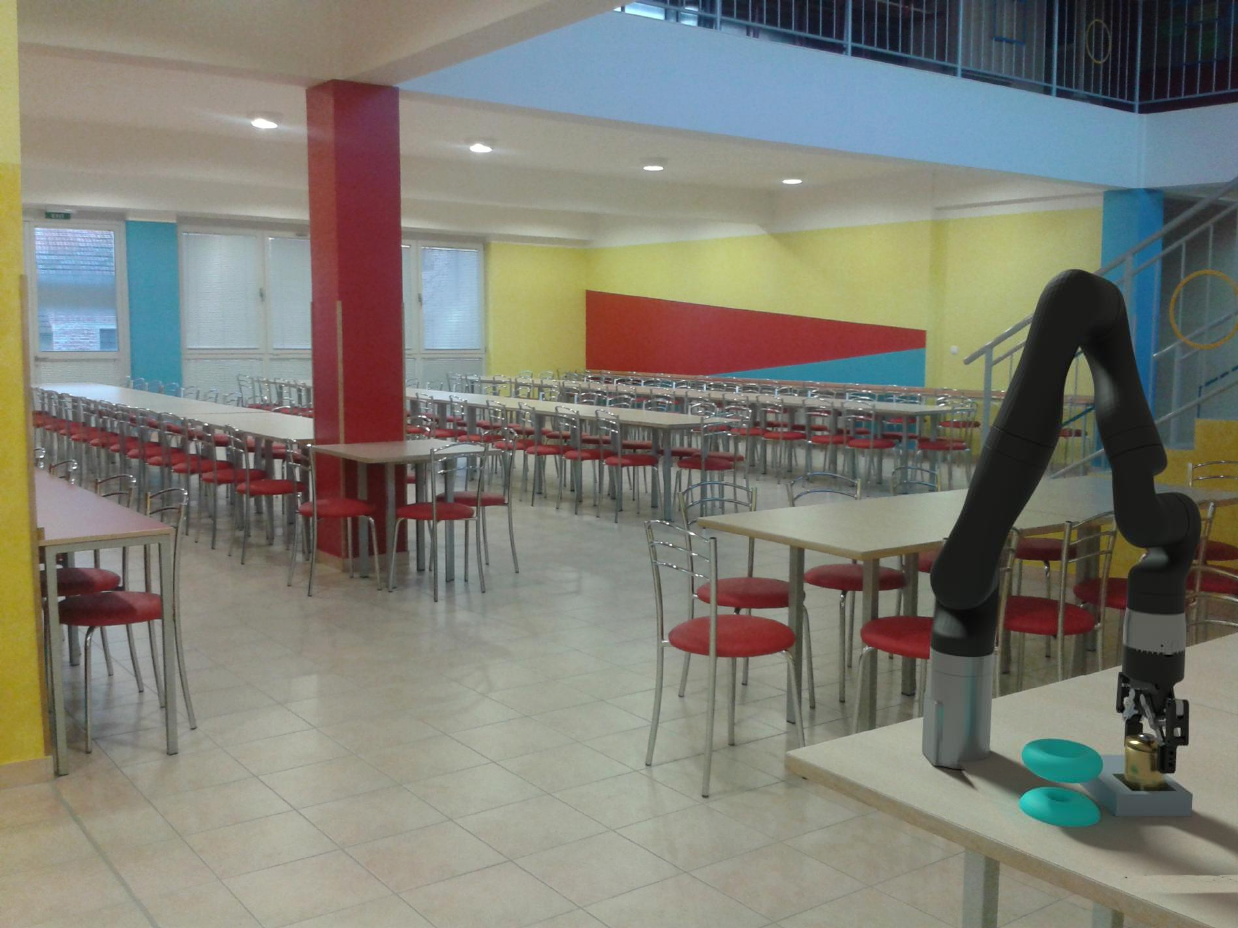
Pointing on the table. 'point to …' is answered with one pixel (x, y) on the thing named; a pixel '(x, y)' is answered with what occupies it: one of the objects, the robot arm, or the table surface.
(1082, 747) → the donuts
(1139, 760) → the gold battery
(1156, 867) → the table surface
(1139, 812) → the housing
